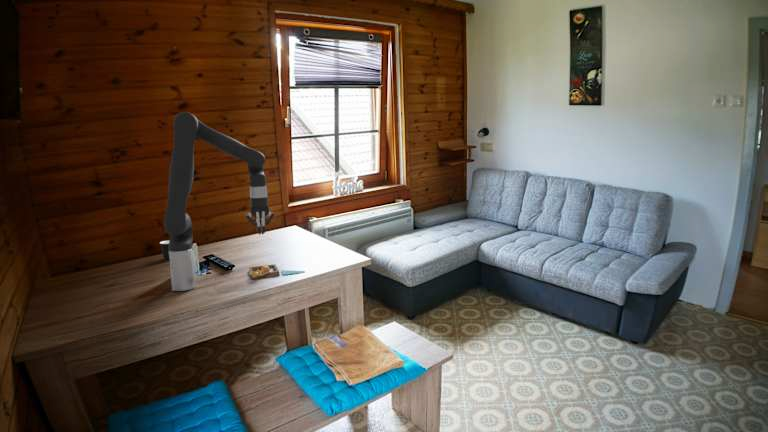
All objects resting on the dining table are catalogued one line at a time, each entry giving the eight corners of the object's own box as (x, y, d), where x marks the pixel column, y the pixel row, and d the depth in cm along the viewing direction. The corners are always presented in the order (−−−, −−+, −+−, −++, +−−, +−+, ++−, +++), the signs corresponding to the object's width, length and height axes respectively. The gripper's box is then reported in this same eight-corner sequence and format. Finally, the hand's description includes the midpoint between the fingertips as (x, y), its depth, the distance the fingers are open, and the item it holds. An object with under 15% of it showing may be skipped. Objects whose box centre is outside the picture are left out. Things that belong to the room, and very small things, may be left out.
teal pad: (283, 275, 198) (283, 274, 198) (279, 270, 208) (279, 269, 207) (305, 272, 202) (305, 271, 202) (300, 267, 211) (300, 266, 211)
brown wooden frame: (252, 279, 194) (251, 274, 194) (249, 271, 207) (249, 267, 207) (279, 275, 198) (279, 271, 198) (275, 268, 211) (275, 264, 211)
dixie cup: (179, 262, 229) (177, 241, 227) (162, 264, 225) (160, 244, 223) (176, 259, 235) (174, 239, 234) (160, 261, 231) (158, 241, 229)
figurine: (276, 266, 201) (263, 264, 190) (274, 279, 200) (261, 277, 189) (260, 265, 203) (246, 262, 192) (258, 278, 202) (243, 276, 191)
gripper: (243, 198, 191) (246, 237, 194) (275, 196, 196) (277, 234, 199) (242, 196, 198) (245, 234, 201) (272, 194, 203) (275, 231, 206)
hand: (261, 234), depth 200 cm, fingers closed
